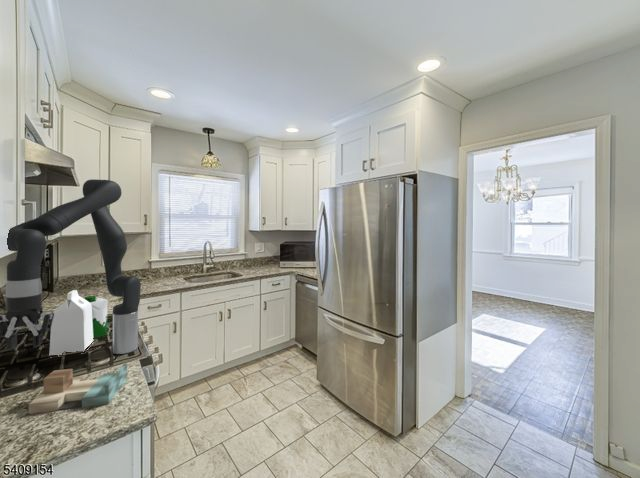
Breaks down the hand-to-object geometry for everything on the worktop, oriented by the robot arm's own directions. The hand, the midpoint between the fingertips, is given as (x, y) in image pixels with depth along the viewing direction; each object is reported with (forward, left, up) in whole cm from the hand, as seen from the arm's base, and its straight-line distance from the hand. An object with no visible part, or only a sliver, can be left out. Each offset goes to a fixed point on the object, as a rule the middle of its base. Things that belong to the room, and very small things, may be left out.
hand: (25, 347), depth 85 cm
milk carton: (-54, -5, -18) cm, 57 cm away
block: (0, +9, -14) cm, 17 cm away
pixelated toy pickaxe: (0, +15, -17) cm, 23 cm away
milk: (-39, -7, -18) cm, 43 cm away
